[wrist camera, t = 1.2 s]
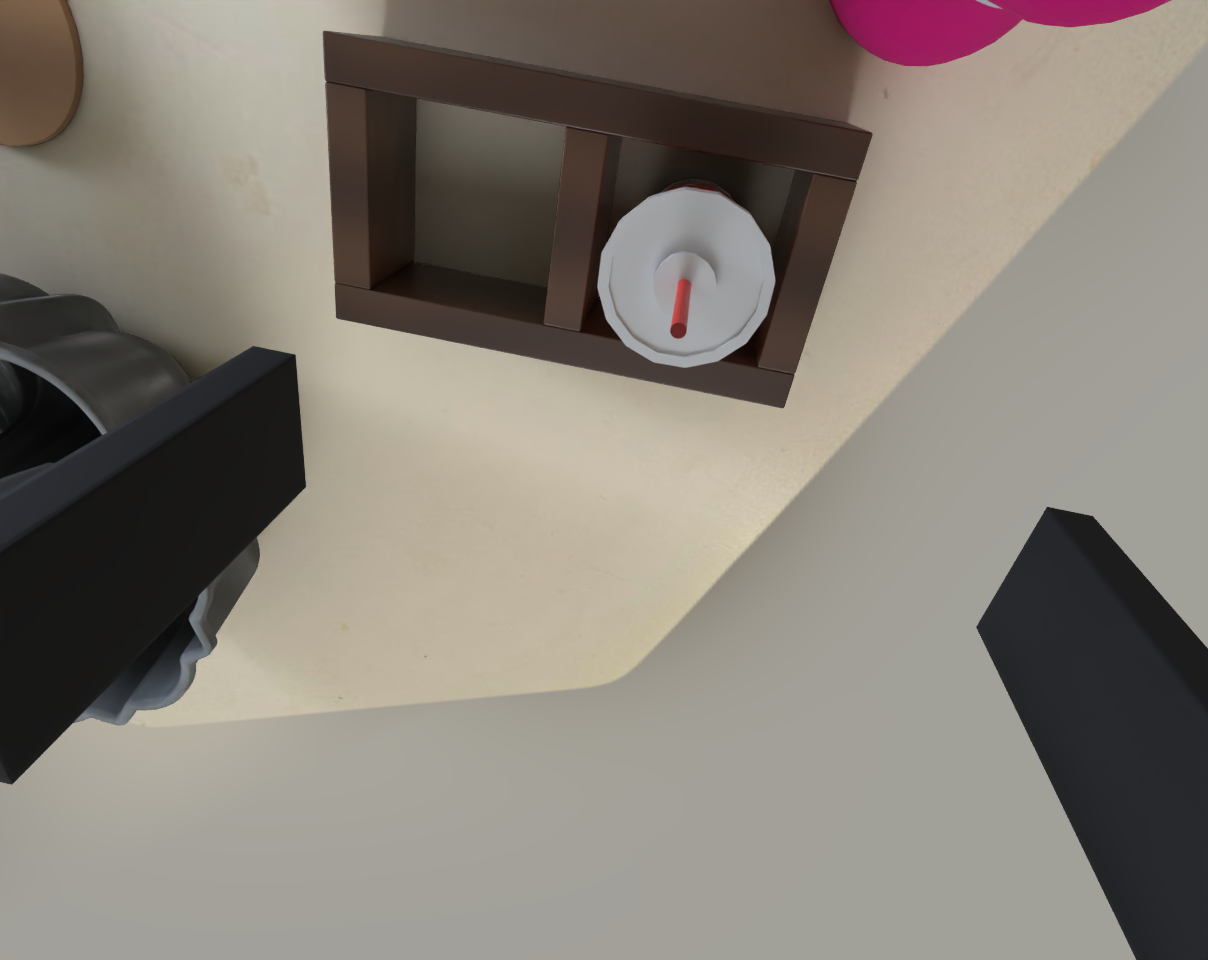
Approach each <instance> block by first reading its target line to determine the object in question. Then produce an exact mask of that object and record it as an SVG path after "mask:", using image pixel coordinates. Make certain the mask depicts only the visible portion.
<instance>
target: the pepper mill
mask: <svg viewBox="0 0 1208 960" xmlns="http://www.w3.org/2000/svg"><path fill="white" fill-rule="evenodd" d="M829 1H830V4H831V6H832V9H833V11H834V13H835V15H836V17H837V19H838V21H839V23H840V24H841V25H842V26H843V28H844V29H845V30H846V31H847V32H848V33H849V34H850V35H851V36H852V37H853V38H854V39H855V40H856V42H857V43H859V44H860V45H861V46H862V47H863V48H865V49H866V50H867V51H869V52H870V53H872V54H874V55H875V56H877V57H879V58H881V59H883V60H885V61H889V62H893V63H896V64H900V65H904V66H930V65H936V64H942V63H946V62H949V61H952V60H955V59H958V58H961V57H964V56H967V55H970V54H972V53H974V52H976V51H978V50H980V49H982V48H984V47H986V46H988V45H990V44H992V43H994V42H995V41H996V40H998V39H999V38H1000V37H1002V36H1003V35H1004V34H1006V33H1007V32H1008V31H1009V30H1011V29H1012V28H1013V27H1015V26H1016V25H1017V24H1018V23H1019V22H1020V21H1021V20H1022V19H1024V20H1026V21H1027V22H1033V23H1038V24H1043V25H1051V26H1063V27H1077V26H1086V25H1094V24H1102V23H1110V22H1114V21H1118V20H1121V19H1124V18H1127V17H1131V16H1134V15H1137V14H1141V13H1144V12H1147V11H1149V10H1151V9H1153V8H1156V7H1158V6H1160V5H1162V4H1164V3H1166V2H1168V1H1171V0H829Z"/></svg>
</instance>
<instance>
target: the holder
mask: <svg viewBox="0 0 1208 960" xmlns="http://www.w3.org/2000/svg"><path fill="white" fill-rule="evenodd" d="M323 52H324V73H325V80H326V81H328V82H326V83H325V88H326V109H327V130H328V150H329V171H330V192H331V213H332V233H333V254H334V275H335V282H336V283H335V301H336V318H337V319H342V320H347V321H352V322H357V323H362V324H367V325H372V326H377V327H382V328H387V329H391V330H396V331H401V332H406V333H411V334H416V335H421V336H426V337H431V338H436V339H441V340H446V341H451V342H456V343H461V344H466V345H471V346H476V347H481V348H486V349H491V350H496V351H501V352H506V353H511V354H516V355H521V356H526V357H530V358H535V359H540V360H545V361H550V362H555V363H560V364H565V365H570V366H575V367H580V368H585V369H590V370H595V371H600V372H605V373H610V374H615V375H620V376H625V377H630V378H635V379H640V380H645V381H650V382H655V383H660V384H665V385H669V386H674V387H679V388H684V389H689V390H694V391H699V392H704V393H709V394H714V395H719V396H724V397H729V398H734V399H739V400H744V401H749V402H754V403H759V404H764V405H769V406H774V407H779V408H784V406H785V403H786V400H787V397H788V394H789V391H790V388H791V385H792V382H793V379H794V374H795V372H796V369H797V366H798V363H799V360H800V357H801V354H802V351H803V348H804V345H805V342H806V339H807V335H808V332H809V329H810V326H811V323H812V320H813V317H814V314H815V311H816V308H817V305H818V301H819V298H820V295H821V292H822V289H823V286H824V283H825V280H826V277H827V274H828V271H829V268H830V264H831V261H832V258H833V255H834V252H835V249H836V246H837V243H838V240H839V237H840V234H841V231H842V227H843V224H844V221H845V218H846V215H847V212H848V209H849V206H850V203H851V200H852V197H853V194H854V190H855V187H856V184H857V182H856V181H857V180H858V178H859V175H860V172H861V169H862V166H863V163H864V160H865V156H866V153H867V150H868V147H869V144H870V141H871V138H872V133H871V132H869V131H866V130H864V129H861V128H859V127H856V126H853V125H851V124H848V123H844V122H839V121H833V120H828V119H823V118H817V117H812V116H806V115H801V114H796V113H790V112H785V111H779V110H774V109H769V108H763V107H758V106H752V105H747V104H742V103H736V102H731V101H726V100H720V99H715V98H709V97H704V96H699V95H693V94H688V93H682V92H677V91H672V90H666V89H661V88H655V87H650V86H645V85H639V84H634V83H628V82H623V81H618V80H612V79H607V78H602V77H596V76H591V75H585V74H580V73H575V72H569V71H564V70H558V69H553V68H548V67H542V66H537V65H531V64H526V63H521V62H515V61H510V60H505V59H499V58H494V57H488V56H483V55H478V54H472V53H467V52H461V51H456V50H451V49H445V48H440V47H434V46H429V45H424V44H418V43H413V42H408V41H402V40H397V39H391V38H386V37H379V36H370V35H360V34H350V33H341V32H331V31H323ZM416 98H418V99H423V100H428V101H434V102H439V103H444V104H450V105H455V106H460V107H465V108H471V109H476V110H481V111H487V112H492V113H497V114H503V115H508V116H513V117H519V118H524V119H529V120H534V121H540V122H545V123H550V124H556V125H561V126H566V132H565V140H564V149H563V158H562V167H561V175H560V184H559V193H558V202H557V211H556V219H555V228H554V237H553V246H552V254H551V263H550V272H549V281H548V288H543V287H538V286H533V285H528V284H523V283H518V282H513V281H508V280H503V279H498V278H493V277H488V276H483V275H477V274H472V273H467V272H462V271H457V270H452V269H447V268H442V267H437V266H432V265H427V264H422V263H417V262H413V261H414V229H415V144H416ZM622 137H625V138H630V139H635V140H641V141H646V142H651V143H656V144H662V145H667V146H672V147H678V148H683V149H688V150H694V151H699V152H704V153H709V154H715V155H720V156H725V157H731V158H736V159H741V160H747V161H752V162H757V163H762V164H768V165H773V166H778V167H784V168H789V169H794V170H796V171H795V175H794V179H793V182H792V186H791V189H790V193H789V197H788V200H787V204H786V207H785V211H784V215H783V218H782V222H781V225H780V229H779V233H778V236H777V240H776V243H775V247H774V250H773V254H772V261H773V268H774V275H775V285H774V289H773V293H772V297H771V301H770V305H769V308H768V312H767V316H766V317H765V318H764V320H763V321H762V322H761V324H760V325H759V327H758V328H757V329H756V331H755V332H754V333H753V335H752V336H751V338H750V339H749V340H748V342H747V343H746V344H744V345H743V346H741V347H740V348H738V349H736V350H735V351H733V352H732V353H730V354H729V355H727V356H725V357H724V358H722V359H721V360H719V361H717V362H712V363H707V364H702V365H697V366H692V367H687V368H683V367H678V366H672V365H666V364H660V363H654V362H652V361H650V360H649V359H647V358H645V357H644V356H642V355H640V354H639V353H637V352H636V351H634V350H632V349H631V348H629V347H627V346H626V345H625V344H624V343H623V341H622V340H621V339H620V337H619V336H618V335H617V333H616V332H615V331H614V329H613V328H612V327H611V325H610V324H609V323H608V321H607V320H606V317H605V314H604V310H603V306H602V303H601V299H599V298H597V297H598V288H597V286H598V277H599V269H600V261H601V253H602V251H603V249H604V247H605V246H606V240H607V233H608V227H609V220H610V214H611V207H612V201H613V194H614V188H615V181H616V175H617V168H618V162H619V155H620V149H621V142H622Z"/></svg>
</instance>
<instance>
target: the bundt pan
mask: <svg viewBox="0 0 1208 960" xmlns="http://www.w3.org/2000/svg"><path fill="white" fill-rule="evenodd" d="M188 384H190V380H189V378H188V376H187V374H186V373H185V371H184V370H183V368H182V367H181V366H180V364H179V363H178V362H177V361H176V360H175V359H174V358H173V357H172V356H171V355H169V354H168V353H167V352H166V351H164V350H163V349H161V348H159V347H158V346H156V345H155V344H153V343H151V342H149V341H146V340H144V339H142V338H139V337H136V336H133V335H130V334H125V333H120V331H119V329H118V327H117V325H116V323H115V321H114V319H113V318H112V316H111V314H110V313H109V312H108V311H107V309H106V308H105V307H104V306H102V305H101V304H100V303H98V302H97V301H95V300H93V299H91V298H89V297H85V296H81V295H75V294H60V295H52V296H50V295H49V294H47V293H46V292H44V291H43V290H41V289H39V288H38V287H36V286H34V285H32V284H30V283H28V282H25V281H23V280H20V279H18V278H15V277H12V276H8V275H5V274H1V273H0V479H1V478H4V477H7V476H10V475H13V474H16V473H19V472H22V471H25V470H28V469H31V468H34V467H37V466H40V465H43V464H46V463H49V462H50V463H56V462H58V461H59V460H61V459H63V458H64V457H66V456H68V455H70V454H71V453H73V452H75V451H76V450H78V449H80V448H81V447H83V446H85V445H86V444H88V443H90V442H92V441H93V440H95V439H97V438H98V437H100V436H102V435H103V434H105V433H107V432H109V431H110V430H112V429H114V428H115V427H117V426H119V425H120V424H122V423H124V422H126V421H127V420H129V419H131V418H132V417H134V416H136V415H137V414H139V413H141V412H142V411H144V410H146V409H148V408H149V407H151V406H153V405H154V404H156V403H158V402H159V401H161V400H163V399H165V398H166V397H168V396H170V395H171V394H173V393H175V392H176V391H178V390H180V389H182V388H183V387H185V386H187V385H188ZM259 557H260V550H259V544H258V540H257V538H255V539H254V540H253V541H252V542H251V543H250V544H249V545H248V546H247V547H246V548H245V549H244V550H243V551H242V552H241V553H240V554H239V555H238V556H237V557H236V558H235V559H234V560H233V561H232V562H231V563H230V564H229V565H228V566H227V567H226V568H225V569H224V570H223V571H222V572H221V573H220V574H219V575H218V576H217V577H216V579H215V580H214V581H213V582H212V583H211V584H210V585H209V586H208V587H207V588H206V589H205V590H204V591H203V592H202V593H201V594H200V595H199V596H198V597H197V598H196V599H195V600H194V601H193V602H192V603H191V604H190V605H189V606H188V607H187V608H186V609H185V610H184V611H183V612H182V613H181V614H180V615H179V616H178V617H177V618H176V619H175V620H174V621H173V622H172V623H171V624H170V625H169V626H168V627H167V628H166V629H165V630H164V631H163V632H162V633H161V634H160V635H159V636H158V637H157V638H156V639H155V640H154V641H153V642H152V643H151V644H150V645H149V646H148V647H147V648H146V649H145V650H144V651H143V652H142V653H141V654H140V655H139V656H138V658H137V659H136V660H135V661H134V662H133V663H132V664H131V665H130V666H129V667H128V668H127V669H126V670H125V671H124V672H123V673H122V674H121V675H120V676H119V677H118V678H117V679H116V680H115V681H114V682H113V683H112V684H111V685H110V686H109V687H108V688H107V689H106V690H105V691H104V692H103V693H102V694H101V695H100V696H99V697H98V698H97V699H96V700H95V701H94V702H93V703H92V704H91V705H90V706H89V707H88V708H87V709H86V710H85V711H84V712H83V713H82V714H81V715H80V716H79V717H78V718H77V719H76V720H75V721H74V722H73V723H75V722H79V721H83V720H85V719H88V718H95V719H98V720H101V721H103V722H107V723H111V724H114V725H124V724H126V723H127V722H128V721H129V720H130V719H131V718H132V716H133V715H134V714H135V712H136V710H156V709H159V708H163V707H166V706H169V705H171V704H173V703H175V702H176V701H178V700H179V699H180V698H181V697H182V696H183V695H184V693H185V692H186V691H187V690H188V688H189V687H190V685H191V684H192V682H193V680H194V677H195V673H196V663H197V661H198V660H199V659H201V658H204V657H206V656H208V655H209V654H210V653H211V652H212V650H213V649H214V648H215V647H216V645H217V638H216V636H215V635H216V634H217V632H218V631H219V629H220V627H221V626H222V624H223V623H224V621H225V619H226V618H227V616H228V615H229V613H230V612H231V610H232V608H233V607H234V605H235V604H236V602H237V600H238V599H239V597H240V596H241V594H242V592H243V591H244V589H245V588H246V586H247V585H248V583H249V581H250V580H251V578H252V576H253V575H254V573H255V571H256V569H257V567H258V563H259Z"/></svg>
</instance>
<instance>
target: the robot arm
mask: <svg viewBox="0 0 1208 960" xmlns="http://www.w3.org/2000/svg"><path fill="white" fill-rule="evenodd" d="M305 487H306V481H305V469H304V456H303V444H302V431H301V418H300V406H299V393H298V381H297V368H296V355H294V354H289V353H284V352H279V351H275V350H270V349H265V348H260V347H255V346H253V347H251V348H249V349H248V350H246V351H244V352H243V353H241V354H239V355H238V356H236V357H234V358H232V359H231V360H229V361H227V362H226V363H224V364H222V365H221V366H219V367H217V368H215V369H214V370H212V371H210V372H209V373H207V374H205V375H204V376H202V377H200V378H198V379H197V380H195V381H193V382H192V383H190V384H188V385H187V386H185V387H183V388H182V389H180V390H178V391H176V392H175V393H173V394H171V395H170V396H168V397H166V398H165V399H163V400H161V401H159V402H158V403H156V404H154V405H153V406H151V407H149V408H148V409H146V410H144V411H142V412H141V413H139V414H137V415H136V416H134V417H132V418H131V419H129V420H127V421H126V422H124V423H122V424H120V425H119V426H117V427H115V428H114V429H112V430H110V431H109V432H107V433H105V434H103V435H102V436H100V437H98V438H97V439H95V440H93V441H92V442H90V443H88V444H86V445H85V446H83V447H81V448H80V449H78V450H76V451H75V452H73V453H71V454H70V455H68V456H66V457H64V458H63V459H61V460H59V461H58V462H56V463H50V462H49V463H46V464H43V465H40V466H37V467H34V468H31V469H28V470H25V471H22V472H19V473H16V474H13V475H10V476H7V477H4V478H1V479H0V782H3V783H7V784H13V783H14V782H15V781H16V780H17V779H18V778H19V777H20V776H21V775H22V774H23V773H24V772H25V771H26V770H27V769H28V768H29V767H30V766H31V765H32V764H33V763H34V762H35V761H36V760H37V759H38V758H39V757H40V756H41V755H42V754H43V752H45V751H46V750H47V749H48V748H49V747H50V746H51V745H52V744H53V742H55V741H56V740H57V739H58V737H59V736H60V735H61V734H62V733H63V732H64V731H65V730H66V729H67V728H68V727H69V726H70V725H71V724H72V723H73V722H74V721H75V720H76V719H77V718H78V717H79V716H80V715H81V714H82V713H83V712H84V711H85V710H86V709H87V708H88V707H89V706H90V705H91V704H92V703H93V702H94V701H95V700H96V699H97V698H98V697H99V696H100V695H101V694H102V693H103V692H104V691H105V690H106V689H107V688H108V687H109V686H110V685H111V684H112V683H113V682H114V681H115V680H116V679H117V678H118V677H119V676H120V675H121V674H122V673H123V672H124V671H125V670H126V669H127V668H128V667H129V666H130V665H131V664H132V663H133V662H134V661H135V660H136V659H137V658H138V656H139V655H140V654H141V653H142V652H143V651H144V650H145V649H146V648H147V647H148V646H149V645H150V644H151V643H152V642H153V641H154V640H155V639H156V638H157V637H158V636H159V635H160V634H161V633H162V632H163V631H164V630H165V629H166V628H167V627H168V626H169V625H170V624H171V623H172V622H173V621H174V620H175V619H176V618H177V617H178V616H179V615H180V614H181V613H182V612H183V611H184V610H185V609H186V608H187V607H188V606H189V605H190V604H191V603H192V602H193V601H194V600H195V599H196V598H197V597H198V596H199V595H200V594H201V593H202V592H203V591H204V590H205V589H206V588H207V587H208V586H209V585H210V584H211V583H212V582H213V581H214V580H215V579H216V577H217V576H218V575H219V574H220V573H221V572H222V571H223V570H224V569H225V568H226V567H227V566H228V565H229V564H230V563H231V562H232V561H233V560H234V559H235V558H236V557H237V556H238V555H239V554H240V553H241V552H242V551H243V550H244V549H245V548H246V547H247V546H248V545H249V544H250V543H251V542H252V541H253V540H254V539H255V538H256V537H257V536H258V535H259V534H260V533H261V532H262V531H263V530H264V529H265V528H266V527H267V526H268V525H269V524H270V523H271V522H272V521H273V520H274V519H275V518H276V517H277V516H278V515H279V514H280V513H281V512H282V511H283V510H284V509H285V508H286V507H287V506H288V505H289V504H290V503H291V502H292V501H293V499H294V498H295V497H296V496H297V495H298V494H299V493H300V492H301V491H302V490H303V489H304V488H305ZM977 629H978V632H979V634H980V636H981V638H982V640H983V642H984V644H985V646H986V648H987V650H988V652H989V654H990V657H991V658H992V661H993V663H994V665H995V667H996V669H997V671H998V673H999V675H1000V677H1001V679H1002V681H1003V683H1004V686H1005V688H1006V690H1007V692H1008V694H1009V696H1010V698H1011V700H1012V702H1013V704H1014V706H1015V709H1016V711H1017V713H1018V715H1019V717H1020V719H1021V721H1022V723H1023V725H1024V727H1025V729H1026V731H1027V733H1028V735H1029V738H1030V740H1031V742H1032V744H1033V746H1034V748H1035V750H1036V752H1037V754H1038V756H1039V758H1040V760H1041V763H1042V765H1043V767H1044V769H1045V771H1046V773H1047V775H1048V777H1049V779H1050V781H1051V783H1052V785H1053V787H1054V790H1055V792H1056V794H1057V795H1058V798H1059V800H1060V802H1061V804H1062V806H1063V808H1064V810H1065V812H1066V815H1067V817H1068V819H1069V821H1070V823H1071V825H1072V827H1073V829H1074V831H1075V833H1076V835H1077V837H1078V839H1079V842H1080V843H1081V846H1082V848H1083V850H1084V852H1085V854H1086V856H1087V858H1088V860H1089V862H1090V864H1091V866H1092V869H1093V871H1094V872H1095V875H1096V877H1097V879H1098V881H1099V883H1100V885H1101V887H1102V889H1103V891H1104V893H1105V896H1106V898H1107V900H1108V902H1109V904H1110V906H1111V908H1112V910H1113V912H1114V914H1115V916H1116V918H1117V920H1118V922H1119V925H1120V926H1121V929H1122V931H1123V933H1124V935H1125V937H1126V939H1127V941H1128V943H1129V945H1130V948H1131V949H1132V952H1133V954H1134V956H1135V958H1136V960H1208V648H1207V647H1206V646H1205V645H1204V644H1203V643H1202V642H1201V640H1200V639H1199V638H1198V637H1197V636H1196V635H1195V633H1194V632H1193V631H1192V630H1191V629H1190V628H1189V627H1188V625H1187V624H1186V623H1185V622H1184V621H1183V620H1182V618H1181V617H1180V616H1179V615H1178V614H1177V613H1176V612H1175V611H1174V609H1173V608H1172V607H1171V606H1170V605H1169V604H1168V602H1167V601H1166V600H1165V599H1164V598H1163V597H1162V595H1161V594H1160V593H1159V592H1158V591H1157V590H1156V589H1155V587H1154V586H1153V585H1152V584H1151V583H1150V582H1149V580H1148V579H1147V578H1146V577H1145V576H1144V575H1143V574H1142V572H1141V571H1140V570H1139V569H1138V568H1137V567H1136V565H1135V564H1134V563H1133V562H1132V561H1131V560H1130V559H1129V558H1128V556H1127V555H1126V554H1125V553H1124V552H1123V550H1122V549H1121V548H1120V547H1119V546H1118V545H1117V544H1116V542H1114V540H1113V539H1112V538H1111V537H1110V536H1109V534H1108V533H1107V532H1106V531H1105V530H1104V529H1103V528H1102V526H1101V525H1100V524H1099V523H1098V522H1097V520H1095V518H1094V517H1093V516H1089V515H1084V514H1079V513H1075V512H1070V511H1064V510H1060V509H1055V508H1050V507H1047V508H1046V510H1045V511H1044V513H1043V515H1042V517H1041V518H1040V520H1039V522H1038V523H1037V525H1036V527H1035V528H1034V530H1033V532H1032V534H1031V535H1030V537H1029V539H1028V540H1027V542H1026V544H1025V545H1024V547H1023V549H1022V551H1021V552H1020V554H1019V555H1018V557H1017V559H1016V561H1015V562H1014V564H1013V566H1012V568H1011V569H1010V571H1009V572H1008V574H1007V576H1006V578H1005V579H1004V581H1003V583H1002V584H1001V586H1000V588H999V590H998V591H997V593H996V595H995V596H994V598H993V600H992V601H991V603H990V605H989V607H988V608H987V610H986V611H985V613H984V615H983V617H982V618H981V620H980V622H979V623H978V625H977Z"/></svg>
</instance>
